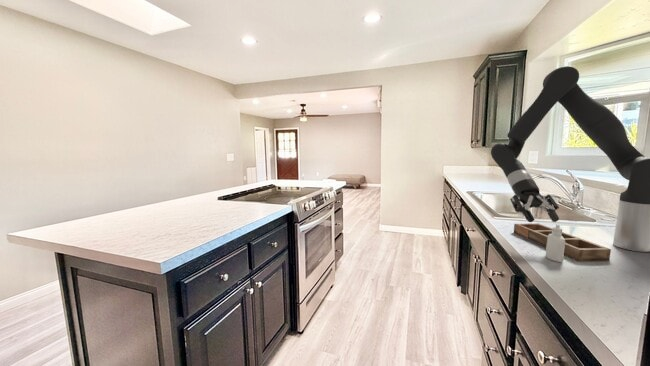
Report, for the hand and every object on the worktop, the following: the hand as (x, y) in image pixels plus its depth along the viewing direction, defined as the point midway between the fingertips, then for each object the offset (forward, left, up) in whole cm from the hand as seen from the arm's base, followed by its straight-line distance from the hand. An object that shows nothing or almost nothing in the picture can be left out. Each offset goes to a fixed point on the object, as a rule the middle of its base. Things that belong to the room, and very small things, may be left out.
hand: (544, 221), depth 91 cm
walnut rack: (-11, -7, -12) cm, 17 cm away
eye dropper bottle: (0, +5, -12) cm, 13 cm away
